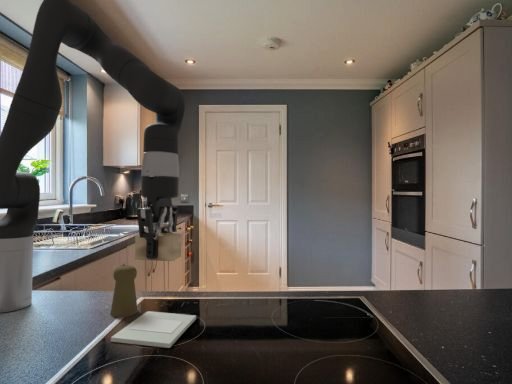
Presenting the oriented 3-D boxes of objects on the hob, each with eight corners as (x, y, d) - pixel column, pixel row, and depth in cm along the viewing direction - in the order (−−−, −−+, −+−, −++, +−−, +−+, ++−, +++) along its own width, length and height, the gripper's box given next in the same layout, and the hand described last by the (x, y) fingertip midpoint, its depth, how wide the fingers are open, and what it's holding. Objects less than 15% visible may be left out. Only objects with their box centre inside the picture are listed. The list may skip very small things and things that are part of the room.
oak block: (134, 259, 64) (135, 235, 64) (145, 255, 69) (146, 232, 69) (172, 261, 63) (173, 236, 63) (181, 256, 68) (181, 233, 68)
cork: (127, 318, 72) (129, 270, 72) (104, 315, 73) (105, 268, 73) (142, 309, 78) (143, 264, 78) (120, 306, 79) (121, 262, 79)
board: (110, 341, 61) (110, 336, 61) (147, 314, 74) (147, 310, 74) (169, 348, 59) (169, 343, 59) (196, 319, 72) (196, 315, 72)
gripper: (159, 177, 74) (158, 249, 74) (124, 172, 60) (122, 261, 60) (190, 177, 73) (188, 250, 73) (161, 172, 59) (159, 264, 59)
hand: (158, 255), depth 66 cm, fingers closed on oak block, 5 cm apart
